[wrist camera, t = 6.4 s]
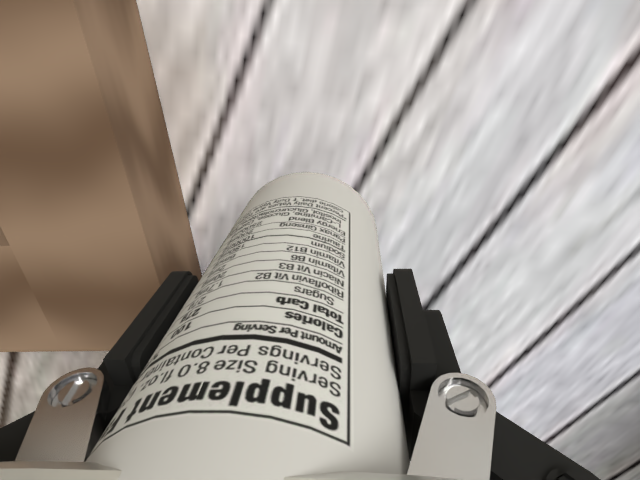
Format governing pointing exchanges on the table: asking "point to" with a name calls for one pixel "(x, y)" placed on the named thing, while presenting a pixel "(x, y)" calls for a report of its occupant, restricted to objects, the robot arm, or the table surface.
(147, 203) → the socket board
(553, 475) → the robot arm
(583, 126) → the table surface
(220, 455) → the energy drink can
